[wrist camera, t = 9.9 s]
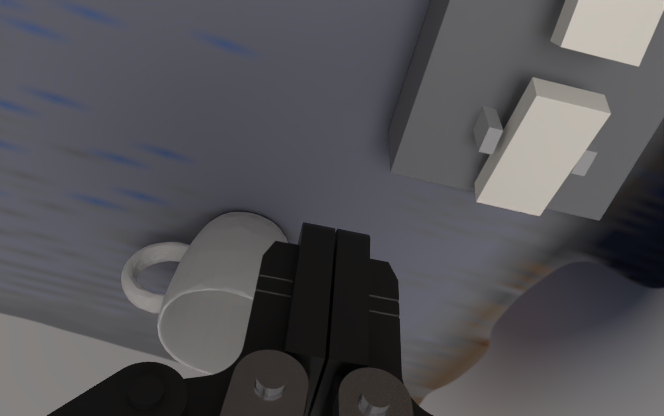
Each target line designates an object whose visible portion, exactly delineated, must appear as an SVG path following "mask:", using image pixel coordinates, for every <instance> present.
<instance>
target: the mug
mask: <svg viewBox="0 0 664 416" xmlns="http://www.w3.org/2000/svg"><path fill="white" fill-rule="evenodd" d="M275 241H280V242H285V243H288V242H287V239H286V237H285V235H284V234H283V233H282V231H281V230H280V228H279V227H278V226H277V225H275V224H274V223H273V222H272V221H270V220H268V219H266V218H264V217H262V216H260V215H256V214H253V213H248V212H229V213H226V214H223V215H221V216H219V217H217V218H215V219H214V220H212V221H210V222H209V223H208V224H207V225H206V226H205V227H204V228H203V229H202V230H201V231H200V233H199V234H198V235H197V236H196V237H195V239H194V240H193V241H192V243H191V244H190V245H188V244H184V243H181V242H162V243H157V244H151V245H148V246H146V247H144V248H142V249H140V250H139V251H137V252H136V253H134V254H133V255H132V256H131V257H130V258H129V259H128V261H127V262H126V264H125V266H124V268H123V271H122V274H121V283H122V287H123V291H124V293H125V294H126V296H127V298H128V299H129V301H131V302H132V303H133V304H134V305H135V306H137V307H138V308H140V309H143V310H146V311H149V312H152V313H159V316H158V326H157V327H158V334H159V339H160V341H161V343H162V345H163V346H164V348H165V350H166V351H167V352H168V353H169V354H170V355H171V356H172V357H173V358H174V359H175V360H177V361H178V362H180V363H181V364H183V365H185V366H187V367H189V368H192V369H194V370H196V371H199V372H201V373H206V374H210V375H213V374H216V373H219V372H221V371H223V370H225V369H226V368H228V367H229V366H231V365H232V364H233V363H234V362H235V361H236V360H237V358H238V357H239V355H240V354H241V352H242V349H243V346H244V341H245V336H246V331H247V327H248V322H249V317H250V313H251V308H252V303H253V299H254V294H255V289H256V284H257V280H258V275H259V270H260V266H261V261H262V256H263V254H264V253H265V252H266V251H267V250H268V249H269V248H270V246H271V245H272V244H273V243H274V242H275ZM165 261H177V262H180V263H179V265H178V267H177V269H176V271H175V273H174V276H173V278H172V280H171V282H170V284H169V287H168V289H167V291H166V293H157V292H152V291H149V290H147V289H145V288H143V287H142V286H140V285H139V284H138V282H137V280H136V279H137V276H138V274H139V273H140V272H141V271H142V270H143V269H145V268H147V267H149V266H150V265H153V264H156V263H160V262H165Z"/></svg>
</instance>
